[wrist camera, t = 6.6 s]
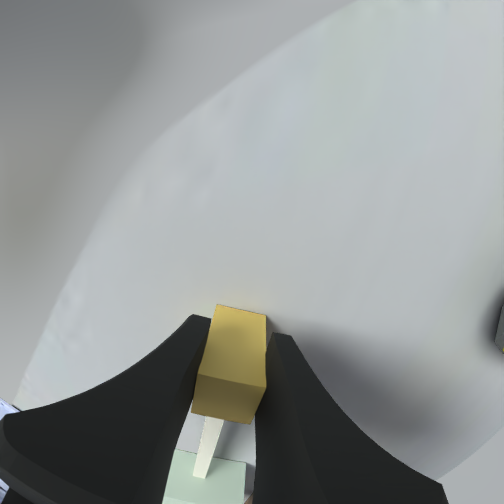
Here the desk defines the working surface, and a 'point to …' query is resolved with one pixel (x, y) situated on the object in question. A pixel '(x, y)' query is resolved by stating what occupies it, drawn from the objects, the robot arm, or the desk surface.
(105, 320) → the desk surface
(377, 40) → the desk surface
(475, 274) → the desk surface
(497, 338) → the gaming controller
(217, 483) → the tethered block
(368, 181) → the desk surface
